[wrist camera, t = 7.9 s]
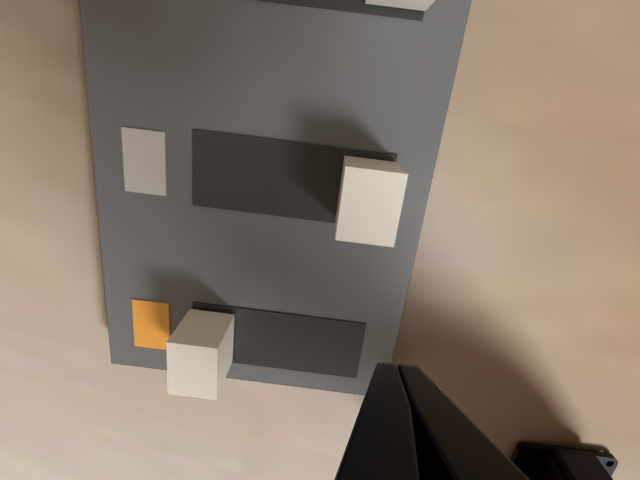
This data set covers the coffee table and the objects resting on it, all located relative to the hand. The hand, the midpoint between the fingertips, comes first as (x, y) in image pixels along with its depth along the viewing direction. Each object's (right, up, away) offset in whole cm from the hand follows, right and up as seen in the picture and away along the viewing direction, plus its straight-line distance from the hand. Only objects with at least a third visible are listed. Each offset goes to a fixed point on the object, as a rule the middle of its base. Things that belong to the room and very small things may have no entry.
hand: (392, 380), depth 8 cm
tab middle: (+1, +5, +10) cm, 11 cm away
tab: (-7, -2, +13) cm, 15 cm away
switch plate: (-4, +7, +12) cm, 14 cm away
